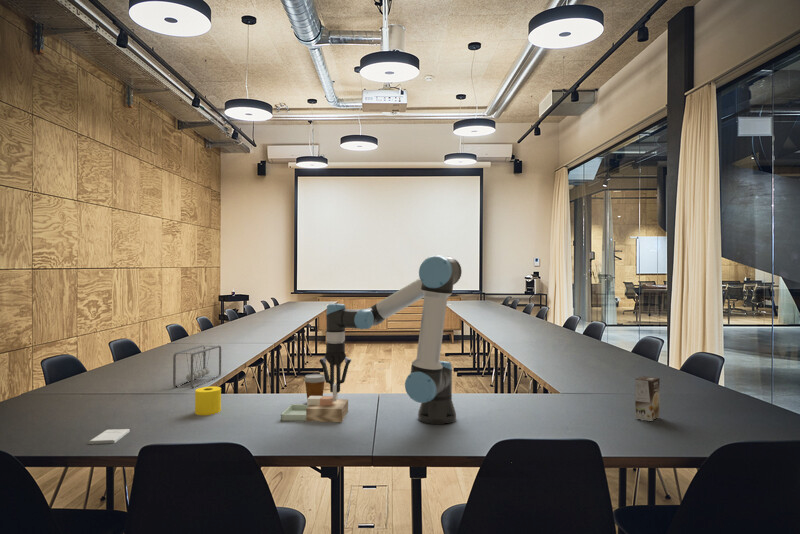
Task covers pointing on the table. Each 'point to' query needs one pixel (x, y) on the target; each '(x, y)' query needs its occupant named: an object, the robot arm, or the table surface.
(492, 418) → the table surface
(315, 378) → the disposable coffee cup
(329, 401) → the terracotta tile
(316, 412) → the tan wooden flat block
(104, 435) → the external hard drive
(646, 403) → the coffee box
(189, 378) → the newton's cradle
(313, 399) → the cream tile
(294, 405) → the tray
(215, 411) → the yellow toilet paper roll
